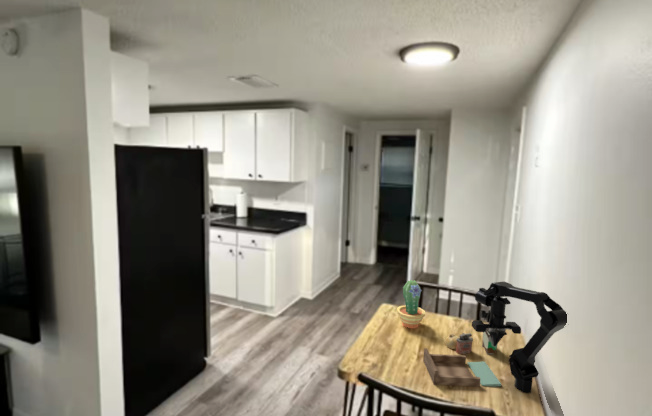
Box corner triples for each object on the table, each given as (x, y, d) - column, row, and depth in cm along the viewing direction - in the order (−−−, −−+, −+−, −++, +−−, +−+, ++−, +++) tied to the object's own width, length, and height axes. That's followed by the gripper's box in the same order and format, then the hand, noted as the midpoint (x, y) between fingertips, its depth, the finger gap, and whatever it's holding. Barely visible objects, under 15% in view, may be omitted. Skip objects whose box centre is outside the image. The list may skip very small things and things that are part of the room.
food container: (501, 359, 164) (503, 339, 163) (487, 358, 165) (489, 337, 164) (494, 346, 176) (496, 327, 175) (481, 345, 177) (483, 325, 176)
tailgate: (482, 384, 142) (501, 383, 142) (467, 362, 158) (484, 361, 158) (482, 386, 142) (501, 386, 142) (467, 364, 158) (484, 363, 158)
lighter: (458, 357, 165) (460, 336, 164) (453, 353, 169) (455, 333, 167) (473, 355, 167) (475, 334, 166) (468, 351, 171) (470, 331, 169)
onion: (454, 343, 178) (456, 329, 177) (466, 351, 171) (467, 337, 170) (441, 345, 175) (442, 332, 174) (452, 354, 168) (453, 339, 167)
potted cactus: (393, 327, 193) (395, 282, 190) (399, 316, 207) (401, 274, 204) (422, 333, 187) (425, 287, 184) (426, 322, 201) (429, 278, 198)
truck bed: (433, 387, 142) (434, 370, 141) (423, 363, 159) (424, 348, 158) (479, 389, 142) (481, 372, 141) (464, 365, 159) (465, 350, 158)
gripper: (510, 304, 160) (507, 337, 162) (468, 302, 161) (465, 335, 163) (523, 314, 149) (519, 350, 151) (478, 313, 150) (474, 348, 152)
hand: (494, 345), depth 154 cm, fingers closed
